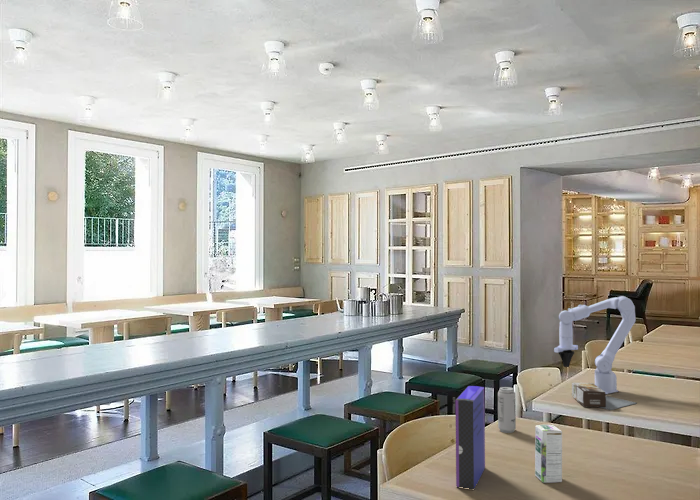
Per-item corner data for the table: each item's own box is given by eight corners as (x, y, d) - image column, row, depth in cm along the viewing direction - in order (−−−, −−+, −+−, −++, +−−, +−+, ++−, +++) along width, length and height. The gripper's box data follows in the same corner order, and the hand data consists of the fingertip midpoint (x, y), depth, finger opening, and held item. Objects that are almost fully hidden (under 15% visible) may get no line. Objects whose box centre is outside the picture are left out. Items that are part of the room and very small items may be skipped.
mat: (603, 395, 257) (603, 395, 257) (636, 403, 244) (636, 402, 244) (577, 401, 247) (577, 401, 247) (610, 410, 234) (610, 409, 234)
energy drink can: (516, 433, 206) (516, 390, 206) (498, 432, 207) (498, 390, 207) (515, 428, 212) (514, 386, 212) (497, 427, 213) (497, 386, 213)
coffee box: (571, 397, 254) (582, 406, 238) (571, 382, 254) (582, 391, 238) (593, 397, 253) (605, 407, 237) (593, 382, 253) (605, 391, 237)
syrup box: (534, 475, 168) (533, 424, 168) (554, 474, 168) (554, 423, 168) (542, 483, 162) (542, 430, 162) (563, 482, 162) (562, 430, 162)
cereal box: (468, 465, 176) (468, 385, 176) (485, 467, 174) (484, 386, 174) (456, 487, 160) (455, 399, 160) (473, 490, 158) (473, 400, 158)
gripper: (568, 334, 277) (568, 363, 277) (548, 337, 269) (548, 367, 269) (581, 336, 271) (582, 365, 271) (561, 339, 263) (561, 369, 263)
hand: (566, 366), depth 269 cm, fingers closed
